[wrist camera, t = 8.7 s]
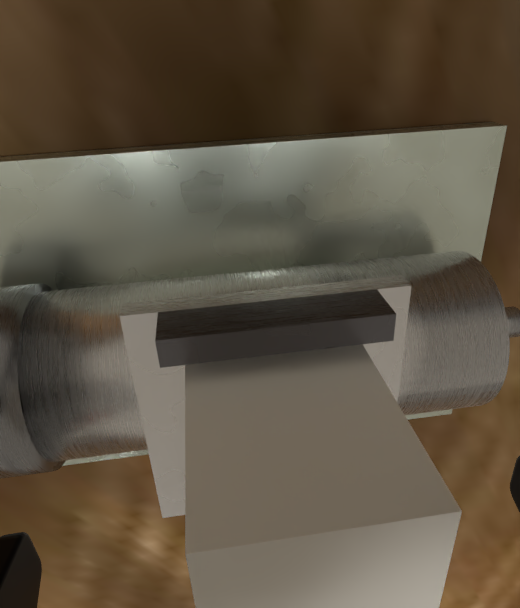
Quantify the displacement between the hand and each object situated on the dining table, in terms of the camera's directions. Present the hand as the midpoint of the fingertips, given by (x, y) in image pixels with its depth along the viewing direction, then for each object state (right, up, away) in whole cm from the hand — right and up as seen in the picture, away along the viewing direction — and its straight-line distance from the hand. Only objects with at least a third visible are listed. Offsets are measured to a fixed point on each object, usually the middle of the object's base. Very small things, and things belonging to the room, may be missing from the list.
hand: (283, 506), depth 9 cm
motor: (-1, +4, +12) cm, 13 cm away
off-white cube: (0, 0, +6) cm, 6 cm away
